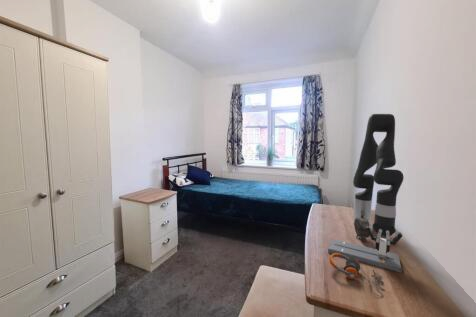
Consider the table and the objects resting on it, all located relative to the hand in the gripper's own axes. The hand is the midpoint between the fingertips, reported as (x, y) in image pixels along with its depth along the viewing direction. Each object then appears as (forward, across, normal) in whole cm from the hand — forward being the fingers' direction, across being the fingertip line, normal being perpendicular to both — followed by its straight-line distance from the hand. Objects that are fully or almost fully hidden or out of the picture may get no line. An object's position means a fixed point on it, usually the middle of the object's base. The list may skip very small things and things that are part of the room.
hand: (382, 250), depth 93 cm
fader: (+2, 0, 0) cm, 2 cm away
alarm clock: (+5, +9, -20) cm, 22 cm away
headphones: (+5, +9, +19) cm, 22 cm away
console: (+5, +8, 0) cm, 9 cm away
